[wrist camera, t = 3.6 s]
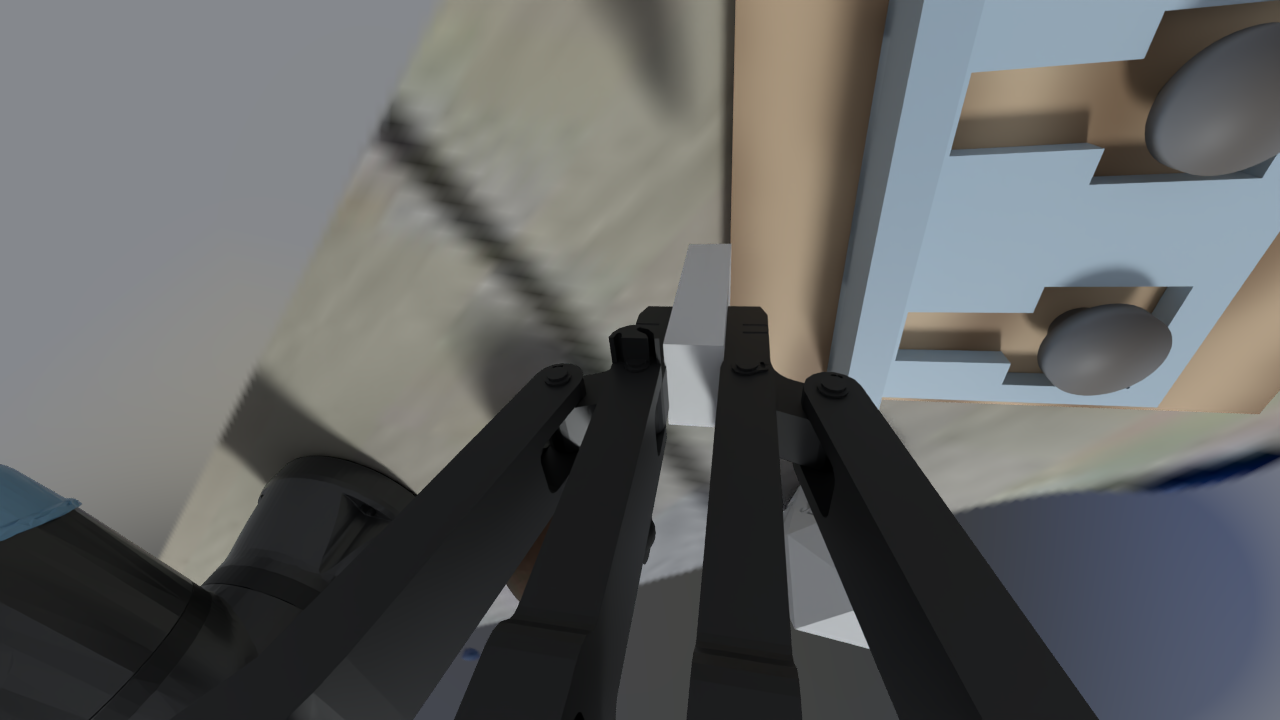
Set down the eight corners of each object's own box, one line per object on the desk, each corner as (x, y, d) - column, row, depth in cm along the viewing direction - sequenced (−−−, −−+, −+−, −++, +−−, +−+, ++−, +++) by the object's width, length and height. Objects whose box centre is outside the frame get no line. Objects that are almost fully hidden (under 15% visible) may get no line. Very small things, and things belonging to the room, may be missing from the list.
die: (853, 430, 29) (755, 554, 24) (992, 542, 26) (910, 704, 22) (799, 476, 36) (716, 577, 31) (903, 566, 33) (828, 692, 29)
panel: (824, 382, 25) (836, 433, 22) (889, 0, 16) (925, -6, 13) (1141, 393, 22) (1206, 453, 19) (1440, -61, 13) (1655, -87, 10)
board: (727, 380, 27) (726, 421, 24) (736, -18, 17) (735, -25, 14) (1237, 397, 23) (1307, 450, 20) (1664, -131, 12) (1932, -176, 10)
